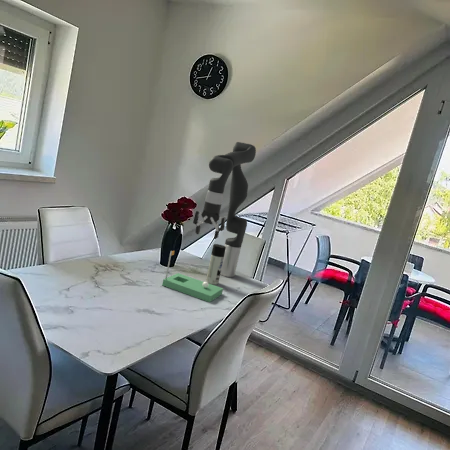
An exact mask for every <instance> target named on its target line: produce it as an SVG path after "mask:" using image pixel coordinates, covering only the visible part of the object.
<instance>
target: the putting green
mask: <svg viewBox="0 0 450 450" xmlns="http://www.w3.org/2000/svg"><path fill="white" fill-rule="evenodd" d="M174 255H175V250H170V253H169V257H168V264H167V269H166V274H165V278H163V280H162V284H161V286H163V287H165V286H166V287H167V288H169V289H171V290H174V291H177V292H180V293H183V294H185V295H189V296H191V297H194V298H196V299H199V300H203V301H204V302H207V303H211V302H213V300H215V299H217V298H219V297H220V296H222V295H223V291H224V288H223V287H220V286H219V285H218V286H217V285H214V284H209V283H208V284H209V286H208V287H207V288H204V287H203V286H202V284H203V282H204V281H203V280H199V279H196V278H195V277H192V276H191V277H190V276H188V275H185V274H182V273H179V272H178V273H175V274H173V275H170V276H169V277H168V273H169V269H170V264H171V258H172V256H174Z"/></svg>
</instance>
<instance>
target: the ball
mask: <svg viewBox="0 0 450 450" xmlns="http://www.w3.org/2000/svg"><path fill="white" fill-rule="evenodd" d="M202 286H203V287H204V288H207V287H208V286H209V284H208V282H206V281H203V284H202Z"/></svg>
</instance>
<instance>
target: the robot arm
mask: <svg viewBox="0 0 450 450" xmlns="http://www.w3.org/2000/svg"><path fill="white" fill-rule="evenodd" d="M232 148H233V149H232V151H230V152H228V153H226V154H218V155H214V156H212V157H211V159H210V160H209V161H208V167H209V170H210V171H212V172H213V173H216V174H221V175H220V177H212V178H210V180H209V183H208V188H207V192H206V196H205V198H204V199H205V200H204V203H203V204H204V206H203V209H202V212H201V211H200V210H197V211H195V213H194V218H193V221H192V223H193V224H194V225H195V226H196V227H195V234H196V235H199V234H200V232H201V227H202V226H201V225H202V224H204V223H205V224H209V225H212V226H213V228H214V229H215V231H214V236H213V239H214V240H216V239H218V238H219V235H220V232H222V231H224V230H225V228H226V231H227V232H229V233H232V234H235V235H236V236H235V237H227V238H225V241H224V246H225V247H226V249H225V254H224V259H223V264H222V269H221V273H220V276H224V277H228V278H234V277H235V275H236V270H237V267H238V262H239V257H240V254H241V249H242V246H243V245H242V244H243V243H244V238H245V234H246V232H247V231H246V230H247V227H248V226H247V225H248V220H247V219H246V218H243V217H239V216H236V212H237V210H238V208H239V207H240V206H241V205H242V204H243V203H245V201H246V200H247V198H248V190H249V183H248V181H247V178H246V177H245V174H244V173H243V170H242V165H243V164H246V163H247V164H248V163H252V162H253V161H254V160H255V158H256V153H257V149H256V147H255V145H254V144H251V143H245V142H241V141H237V142H235V143H234V145H233V147H232ZM230 175H231V181H230V189H229V203H228V210H227V216H226V217H225V216H224V217H223V216H220V212H221V209H222V203H223V199H224V192H225V187H226V184H227V182H228V179H229V177H230ZM199 217H202V218H201V220H199ZM218 221H219V222H220V225H219V223H218Z"/></svg>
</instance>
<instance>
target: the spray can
mask: <svg viewBox="0 0 450 450" xmlns="http://www.w3.org/2000/svg"><path fill="white" fill-rule="evenodd" d="M211 249H212V250H211V252H210V253H211V255H210V260H209V264H208V268H207V269H208V270H207V275H206V279H205V282H208V283H209V284H212V285H215V286H217V285H218V284H219V282H220V279H221V278H220V276H221V274H220V273H221V269H222V264H223V259H224V254H225V249H226V247H225V245H223V244H218V243H214V244H213V245H212V248H211Z"/></svg>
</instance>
